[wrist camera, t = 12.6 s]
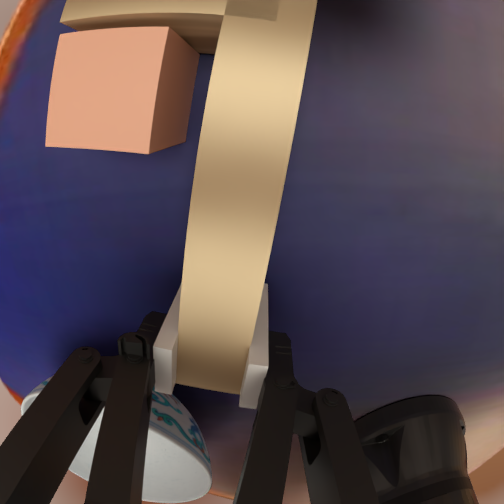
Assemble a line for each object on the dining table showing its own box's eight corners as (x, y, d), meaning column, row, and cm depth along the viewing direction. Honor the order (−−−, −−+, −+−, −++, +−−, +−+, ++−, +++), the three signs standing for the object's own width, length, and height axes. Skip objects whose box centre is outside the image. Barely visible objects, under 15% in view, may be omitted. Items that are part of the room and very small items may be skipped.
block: (185, 141, 17) (148, 154, 11) (105, 134, 17) (45, 146, 11) (200, 54, 15) (168, 26, 9) (117, 52, 15) (60, 34, 9)
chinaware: (150, 450, 29) (134, 507, 22) (39, 363, 25) (2, 418, 18) (259, 409, 25) (256, 488, 18) (121, 286, 20) (68, 361, 13)
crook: (245, 325, 19) (240, 394, 14) (97, 295, 19) (50, 347, 13) (303, 18, 13) (322, -35, 8) (128, 5, 13) (80, -36, 7)
